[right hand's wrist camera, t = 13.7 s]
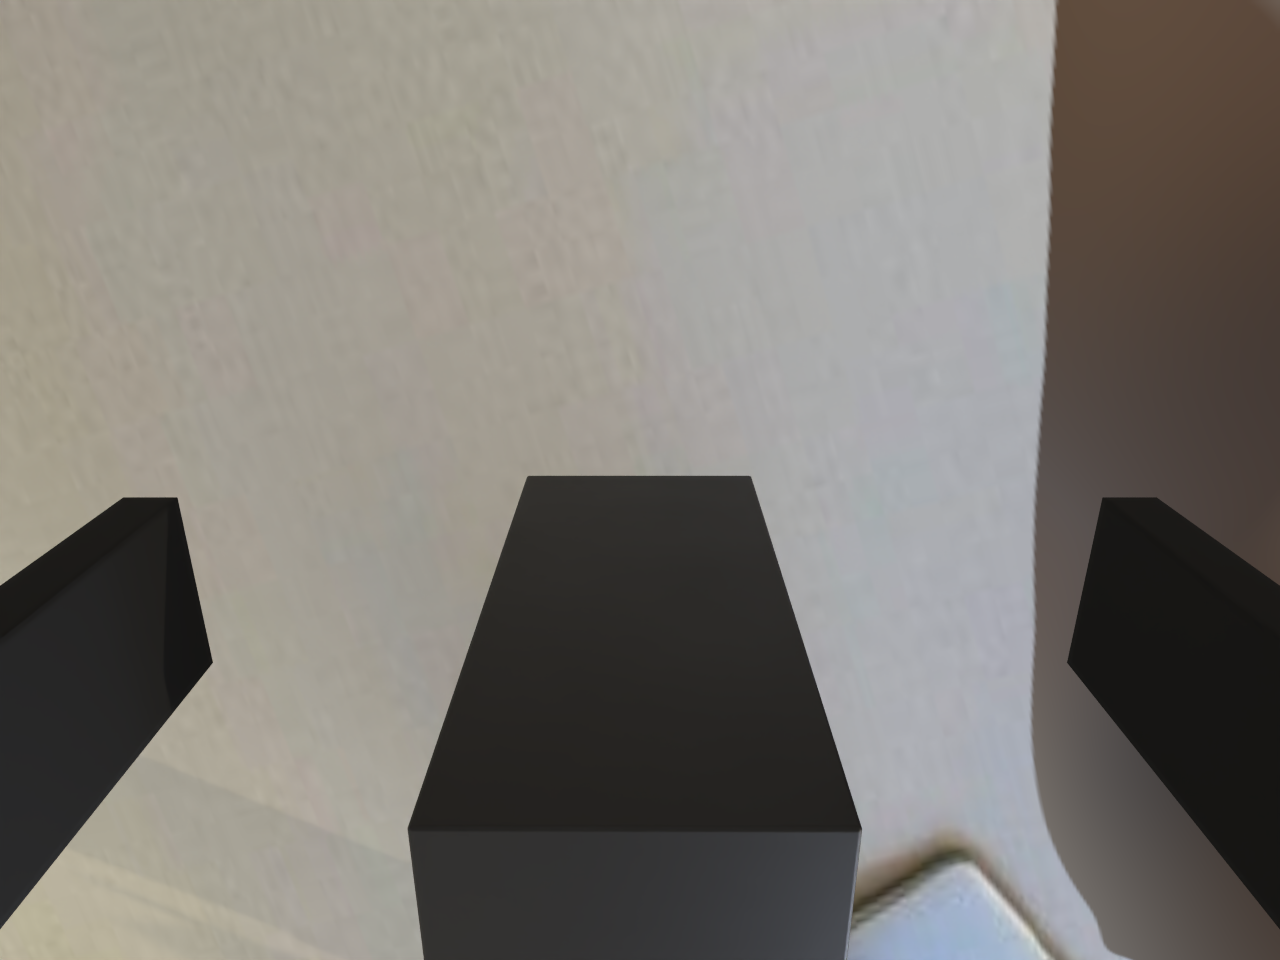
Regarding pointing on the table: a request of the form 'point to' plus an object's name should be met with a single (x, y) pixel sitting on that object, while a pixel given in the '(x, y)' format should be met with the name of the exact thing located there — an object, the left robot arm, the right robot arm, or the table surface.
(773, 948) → the box
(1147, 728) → the right robot arm
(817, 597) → the table surface
